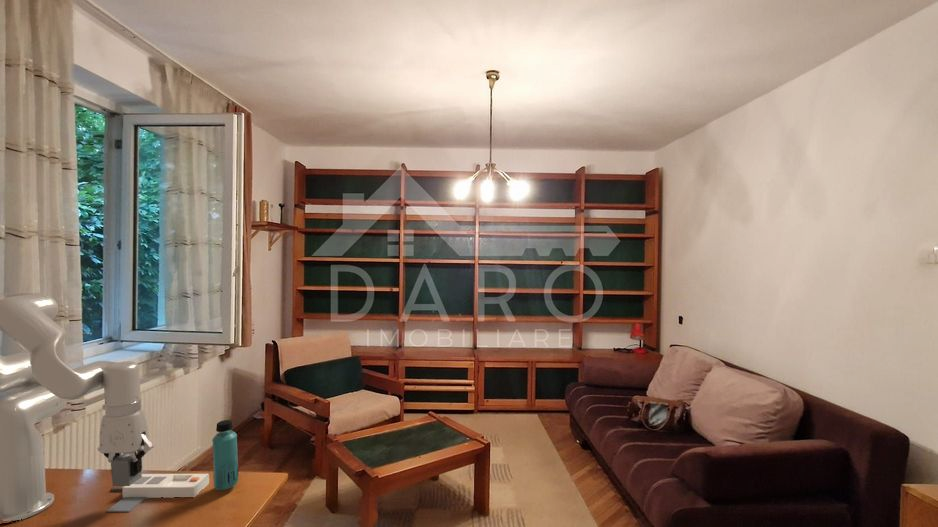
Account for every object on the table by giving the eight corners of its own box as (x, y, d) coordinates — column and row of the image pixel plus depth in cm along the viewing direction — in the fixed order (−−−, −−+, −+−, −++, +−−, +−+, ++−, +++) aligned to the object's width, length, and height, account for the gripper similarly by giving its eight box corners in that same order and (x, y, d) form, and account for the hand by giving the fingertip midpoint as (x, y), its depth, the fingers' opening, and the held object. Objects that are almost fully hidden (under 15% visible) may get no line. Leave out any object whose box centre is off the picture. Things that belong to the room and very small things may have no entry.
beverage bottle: (227, 496, 119) (225, 427, 118) (207, 493, 121) (205, 425, 120) (244, 483, 126) (242, 418, 125) (225, 481, 127) (223, 416, 126)
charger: (125, 477, 117) (124, 452, 117) (141, 476, 117) (140, 451, 117) (112, 486, 113) (111, 460, 112) (129, 486, 113) (127, 459, 112)
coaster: (106, 512, 112) (106, 510, 112) (124, 498, 118) (124, 497, 118) (129, 512, 112) (129, 510, 112) (146, 498, 118) (146, 497, 118)
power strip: (101, 497, 118) (100, 485, 118) (121, 483, 125) (121, 472, 125) (194, 497, 119) (193, 485, 119) (209, 483, 126) (208, 471, 126)
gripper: (79, 414, 110) (83, 482, 111) (144, 413, 110) (147, 481, 111) (104, 403, 118) (107, 467, 119) (164, 402, 118) (167, 466, 119)
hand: (127, 473), depth 115 cm, fingers closed on charger, 4 cm apart
